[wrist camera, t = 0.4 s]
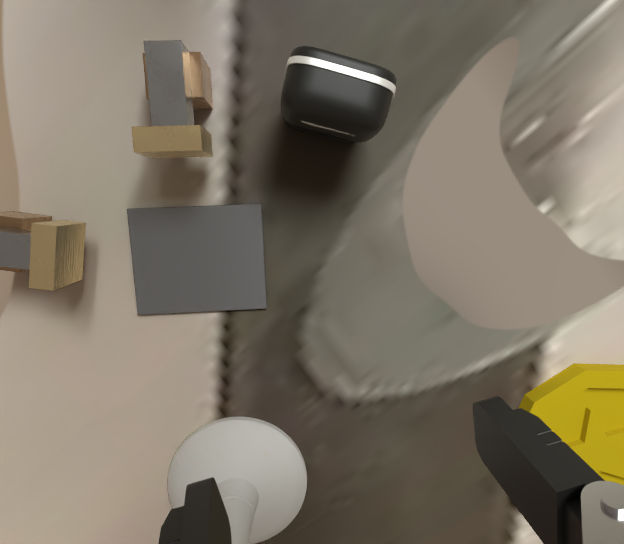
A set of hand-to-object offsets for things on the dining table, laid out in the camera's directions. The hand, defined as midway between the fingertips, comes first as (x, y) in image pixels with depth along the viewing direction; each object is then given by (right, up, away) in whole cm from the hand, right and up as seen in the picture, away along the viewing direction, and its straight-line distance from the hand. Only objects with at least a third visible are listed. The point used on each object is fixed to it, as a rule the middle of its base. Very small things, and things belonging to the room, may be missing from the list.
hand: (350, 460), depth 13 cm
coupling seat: (-11, +7, +25) cm, 28 cm away
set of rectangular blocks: (-18, +14, +23) cm, 32 cm away
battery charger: (0, +18, +24) cm, 30 cm away
